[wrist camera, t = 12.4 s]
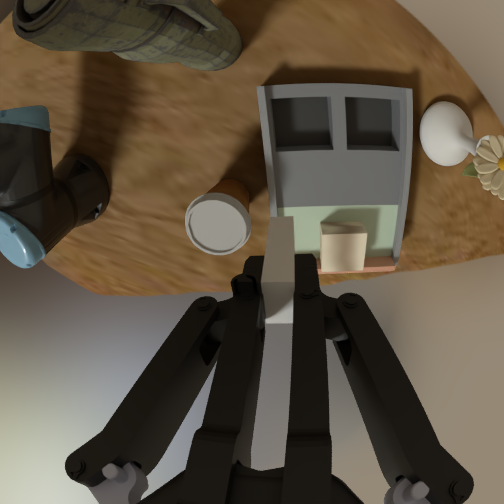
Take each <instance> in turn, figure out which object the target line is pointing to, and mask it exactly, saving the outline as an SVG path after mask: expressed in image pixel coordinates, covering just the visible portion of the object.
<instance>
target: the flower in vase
mask: <svg viewBox="0 0 504 504" xmlns="http://www.w3.org/2000/svg"><path fill="white" fill-rule="evenodd" d="M420 140H421V144H422V147H423V149H424V151H425V153H426V154H427V156H428V157H429V158H430V159H431V160H432V161H434V162H435V163H437V164H439V165H443V166H452V165H456V164H458V163H460V162H461V161H463V160H464V159H465V158H466V156H467V155H468V153H469V152H470V153H472V154H473V155H474V156H475V158H474V159H473V163H470V164H469V165H468V166H467V167H466V168H465V170H464V171H463V173H462V175H463V176H472V177H477V178H479V179H480V182H481V183H482V184H483V188H484V189H485V190H490V189H491V193H492V194H493V195H498V196H499V198H500V199H502V200H504V136H502V135H498V136H497V138H496V137H495V136H494V135H491V136H484V137H482V138H481V139H474V138H473V131H472V126H471V123H470V121H469V119H468V117H467V115H466V114H465V113H464V112H463V111H462V109H461V108H459V107H458V106H457V105H455V104H453V103H451V102H446V101H441V102H437V103H435V104H433V105H431V106H430V107H429V108H428V109H427V110H426V112H425V113H424V115H423V117H422V120H421V124H420Z"/></svg>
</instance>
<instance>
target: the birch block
mask: <svg viewBox="0 0 504 504" xmlns="http://www.w3.org/2000/svg"><path fill="white" fill-rule="evenodd" d="M366 242H367V231H366V229H365V227H364V225H363V223H362V221H349V222H320V263H321V271H322V272H340V271H363V267H364V259H365V251H366Z"/></svg>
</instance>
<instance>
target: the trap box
mask: <svg viewBox="0 0 504 504" xmlns="http://www.w3.org/2000/svg"><path fill="white" fill-rule="evenodd" d="M257 95H258V103H259V112H260V120H261V129H262V137H263V146H264V155H265V164H266V174H267V183H268V193H269V203H270V213H271V217H282V216H293V219H294V239H295V254H308V253H312V254H313V255H314V256H315V258H316V260H317V269H318V274H334V273H358V272H379V271H395V265H397V264H398V259H399V254H400V249H401V243H402V237H403V231H404V225H405V218H406V211H407V203H408V195H409V185H410V174H411V160H412V139H413V97H412V89H409V88H400V87H391V86H380V85H366V84H344V83H308V84H285V85H271V86H258V87H257ZM349 221H362V223H363V225H364V227H365V229H366V231H367V242H366V251H365V259H364V267H363V271H340V272H322V271H321V263H320V222H349Z"/></svg>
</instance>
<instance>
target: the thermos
mask: <svg viewBox="0 0 504 504" xmlns="http://www.w3.org/2000/svg"><path fill="white" fill-rule="evenodd" d="M12 17H13V27H14V30H15V32H16V34H17V35H18V36H20V37H21V38H23V39H25V40H27V41H30V42H32V43H34V44H36V45H39V46H41V47H43V48H46V49H48V50H57V51H100V52H108V51H111V52H113V53H115V54H116V55H118V56H120V57H121V58H123V59H127V60H132V61H139V62H150V63H159V64H161V63H174V62H180V63H182V64H183V65H185V66H186V67H190V68H194V69H197V70H203V71H217V70H221V69H224V68H226V67H228V66H230V65H232V64H233V63H234V62H235V61H236V60H237V59H238V57H239V55H240V53H241V51H242V39H241V35H240V34H239V32H238V30H237V29H236V28H235V26H234V25H233V24H232V23H231V22H230V21H229V19H227V18H225V17H224V16H222V11H221V10H219V9H218V8H217V7H216V6H215V5H214V4H213V3H212V1H211V0H16V1H15V4H14V9H13V14H12Z"/></svg>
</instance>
